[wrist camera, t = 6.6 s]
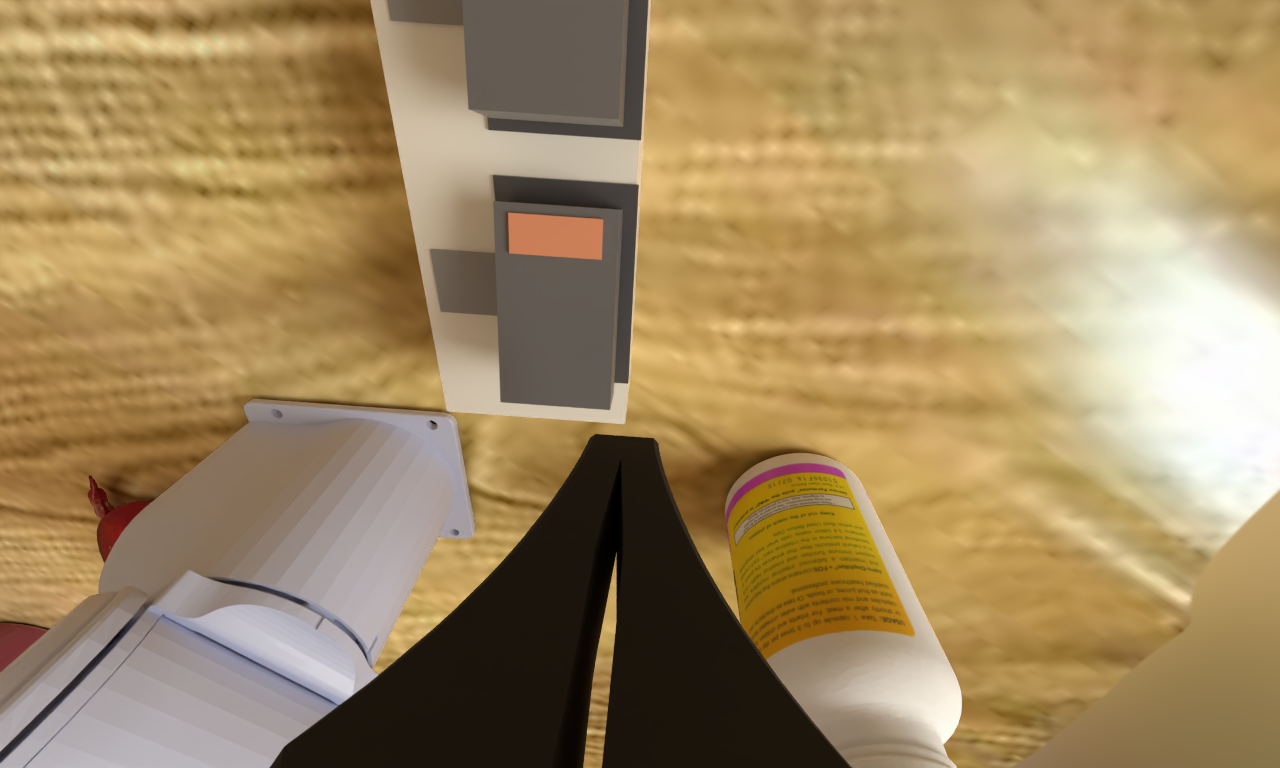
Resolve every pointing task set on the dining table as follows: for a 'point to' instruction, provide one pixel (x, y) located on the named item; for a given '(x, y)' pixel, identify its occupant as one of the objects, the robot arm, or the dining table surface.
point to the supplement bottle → (839, 613)
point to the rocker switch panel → (499, 192)
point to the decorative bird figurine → (111, 517)
